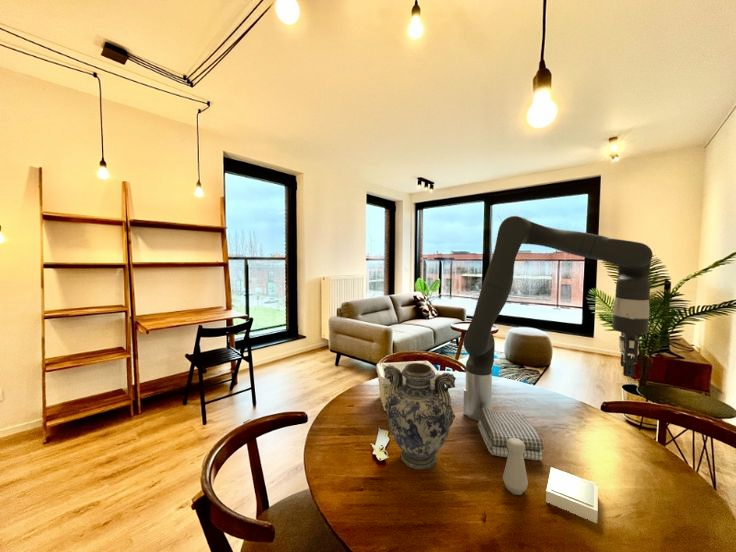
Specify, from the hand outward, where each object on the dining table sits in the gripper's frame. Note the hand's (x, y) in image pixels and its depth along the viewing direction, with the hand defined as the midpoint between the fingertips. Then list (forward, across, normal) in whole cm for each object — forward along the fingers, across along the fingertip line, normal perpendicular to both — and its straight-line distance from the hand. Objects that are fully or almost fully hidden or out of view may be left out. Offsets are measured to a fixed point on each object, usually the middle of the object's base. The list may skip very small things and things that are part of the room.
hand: (626, 371), depth 84 cm
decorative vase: (+28, +31, -49) cm, 65 cm away
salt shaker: (+28, +28, -23) cm, 46 cm away
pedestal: (+28, +23, -11) cm, 38 cm away
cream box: (+29, +3, -68) cm, 74 cm away
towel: (+29, +8, -29) cm, 41 cm away
